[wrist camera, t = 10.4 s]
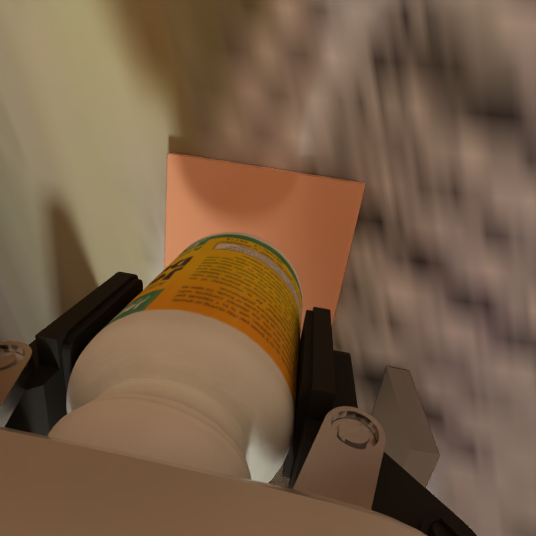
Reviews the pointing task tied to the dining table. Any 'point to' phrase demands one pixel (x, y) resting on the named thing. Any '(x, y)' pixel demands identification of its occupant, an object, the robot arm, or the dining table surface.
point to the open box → (405, 425)
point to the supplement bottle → (198, 364)
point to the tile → (267, 216)
